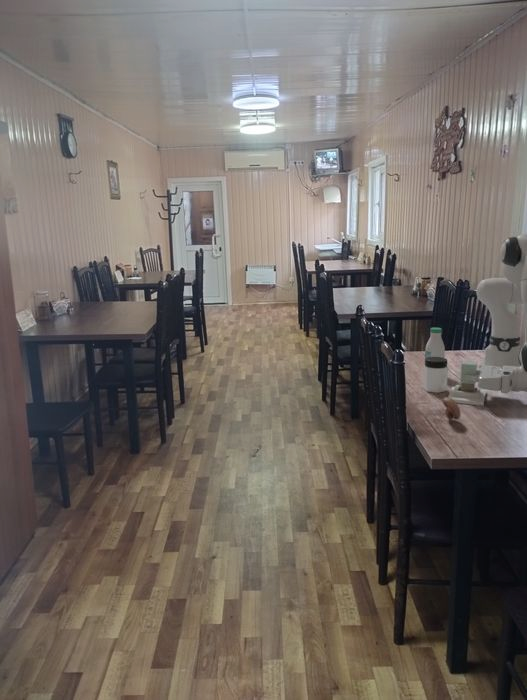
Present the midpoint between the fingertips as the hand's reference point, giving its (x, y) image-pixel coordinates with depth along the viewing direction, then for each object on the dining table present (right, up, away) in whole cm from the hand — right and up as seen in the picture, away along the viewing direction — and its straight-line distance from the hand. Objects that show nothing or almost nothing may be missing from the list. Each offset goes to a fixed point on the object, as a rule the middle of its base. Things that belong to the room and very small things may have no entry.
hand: (465, 374), depth 204 cm
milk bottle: (-2, -2, +31) cm, 31 cm away
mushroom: (-13, -14, -22) cm, 29 cm away
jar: (-8, -6, +11) cm, 15 cm away
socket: (+1, -8, +2) cm, 9 cm away
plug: (+1, -6, +1) cm, 7 cm away
